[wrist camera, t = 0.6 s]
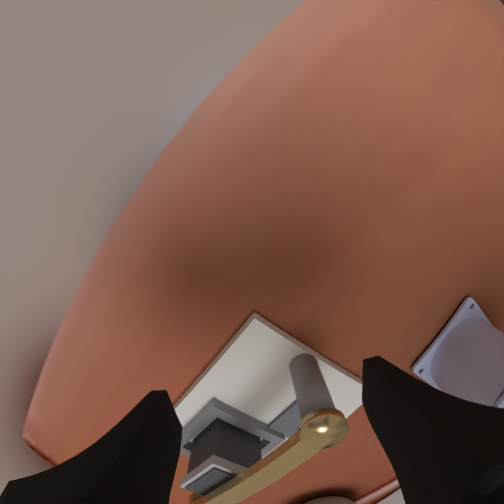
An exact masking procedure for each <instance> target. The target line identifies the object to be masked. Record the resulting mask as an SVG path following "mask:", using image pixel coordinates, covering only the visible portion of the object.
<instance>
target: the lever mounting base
mask: <svg viewBox="0 0 504 504" xmlns="http://www.w3.org/2000/svg"><path fill="white" fill-rule="evenodd" d="M296 399H297V404H298V408H299V412H300V417H301V419H302V418H303V417H304V416H306V415H307V414H309V413H310V412H312V411H315V410H318V409H322V408H335V409H338V410H340V411H341V412H342V413H343V414H344V416H345V419H346V418H347V417H348V416H349V415H351V414H352V413H353V412H354V411H355V410H356V409H357V408H358V407H359V406H360V405H362V404H363V403H362V380H361V379H360V378H358V377H356V376H355V375H353V374H351V373H350V372H348V371H346V370H345V369H343V368H341V367H340V366H338V365H336V364H335V363H333V362H332V361H330V360H328V359H327V358H325V357H323V356H322V355H320V354H319V353H317V352H315V351H314V350H312V349H311V348H309V347H307V346H306V345H304V344H303V343H301V342H300V341H298V340H296V339H295V338H293V337H292V336H290V335H289V334H287V333H286V332H284V331H282V330H281V329H279V328H278V327H276V326H275V325H273V324H272V323H270V322H269V321H267V320H266V319H264V318H263V317H261V316H260V315H258V314H257V313H255V312H254V313H253V314H252V315H251V316H250V317H249V319H248V320H247V321H246V322H245V323H244V325H243V326H242V327H241V328H240V329H239V331H238V332H237V333H236V334H235V335H234V336H233V338H232V339H231V340H230V341H229V342H228V344H227V345H226V346H225V347H224V348H223V349H222V351H221V352H220V353H219V354H218V355H217V356H216V358H215V359H214V360H213V361H212V362H211V363H210V365H209V366H208V367H207V368H206V369H205V370H204V371H203V373H202V374H201V375H200V376H199V377H198V378H197V379H196V381H195V382H194V383H193V384H192V385H191V386H190V387H189V388H188V390H187V391H186V392H185V393H184V394H183V395H182V396H181V397H180V399H179V400H178V401H177V402H176V403H175V404H174V405H173V407H174V409H175V412H176V414H177V416H178V418H179V421H180V423H181V425H182V427H183V428H182V441H181V450H180V452H181V453H183V454H185V455H187V456H189V457H190V454H191V448H192V443H193V439H194V438H195V437H196V436H197V435H198V434H199V433H200V432H201V431H203V430H204V429H205V428H206V427H207V426H208V425H209V424H210V423H211V422H212V421H213V420H215V419H216V418H217V417H218V418H220V419H222V420H224V421H226V422H228V423H230V424H232V425H234V426H236V427H238V428H241V429H243V430H245V431H247V432H249V433H252V434H254V435H256V436H259V437H260V441H261V456H262V458H263V457H265V456H266V455H268V454H269V453H270V452H272V451H273V450H274V449H276V448H277V447H278V446H280V445H281V444H282V443H283V442H285V441H286V440H287V439H288V438H287V437H285V435H284V434H282V433H279V432H277V431H275V430H272V429H270V428H268V424H269V423H270V422H271V421H272V420H274V419H275V418H276V417H277V416H278V415H279V414H280V413H282V412H283V411H284V410H285V409H286V408H287V407H288V406H289V405H290V404H291V403H293V402H294V401H295V400H296Z"/></svg>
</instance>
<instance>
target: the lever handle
mask: <svg viewBox="0 0 504 504" xmlns="http://www.w3.org/2000/svg"><path fill="white" fill-rule="evenodd" d="M348 430H349V427H348V424H347V421H346V419H345V416H344V414H343V413H342V412H341V411H340V410H338V409H335V408H322V409H318V410H315V411H312V412H310V413H309V414H307V415H306V416H304V417H303V418H302V419H301V421H300V422H299V424H298V431H297V432H296V433H295V434H294V435H292V436H291V437H290V438H288V439H287V440H286V441H285V442H283V443H282V444H281V445H280V446H278V447H277V448H276V449H274V450H273V451H272V452H270V453H269V454H268V455H266V456H265V457H263V458H262V459H261V460H259V461H258V462H256V463H255V464H254V465H252V466H251V467H249V468H248V469H246V470H245V471H243V472H242V473H240V474H239V475H237V476H236V477H234V478H233V479H231V480H230V481H228V482H226V483H225V484H223V485H222V486H220V487H218V488H217V489H215V490H213V491H212V492H210V493H208V494H207V495H205V496H201V495H198V494H196V493H193V494H191V495H190V498H189V504H237V503H238V502H240V501H242V500H244V499H246V498H248V497H249V496H251V495H253V494H255V493H256V492H258V491H260V490H262V489H263V488H265V487H267V486H268V485H270V484H272V483H273V482H275V481H276V480H278V479H280V478H281V477H283V476H284V475H286V474H287V473H289V472H290V471H292V470H293V469H295V468H296V467H298V466H299V465H300V464H302V463H303V462H305V461H306V460H308V459H309V458H310V457H312V456H313V455H314V454H316V453H317V452H318V451H320V450H321V449H325V448H329V447H332V446H334V445H336V444H337V443H339V442H340V441H342V440H343V439H344V438H345V437H346V435H347V433H348Z"/></svg>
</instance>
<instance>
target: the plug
mask: <svg viewBox="0 0 504 504" xmlns="http://www.w3.org/2000/svg"><path fill="white" fill-rule="evenodd" d="M261 459H262V456H261V441H260V437H259V436H256V435H254V434H252V433H249V432H247V431H245V430H243V429H241V428H238V427H236V426H234V425H232V424H230V423H228V422H226V421H224V420H222V419H220V418H218V417H217V418H216V419H215V420H213V421H212V422H211V423H210V424H209V425H208V426H207V427H206V428H205V429H204V430H203V431H201V432H200V433H199V434H198V435H197V436H196V437H195V438H194V439H193V443H192V448H191V454H190V460H189V466H188V472H187V475H185V476H184V477H182V478H181V481H180V487H182V488H185V489H187V490H189V491H192V492H195V493H197V494H200V495H203V496H205V495H207V494H208V493H210V492H212V491H213V490H215V489H217V488H218V487H220V486H222V485H223V484H225V483H226V482H228V481H230V480H231V479H233V478H234V477H236V476H237V475H239V474H240V473H242V472H243V471H245V470H246V469H248V468H249V467H251V466H252V465H254V464H255V463H256V462H258V461H259V460H261Z"/></svg>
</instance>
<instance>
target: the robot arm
mask: <svg viewBox="0 0 504 504" xmlns="http://www.w3.org/2000/svg"><path fill="white" fill-rule="evenodd" d="M471 304H472V305H471ZM470 306H471V307H470ZM420 369H421V370H420ZM419 370H420V371H419ZM412 371H413V373H414V374H416V375H417V376H419V377H420V378H421V379H423V380H424V381H426V382H427V383H429V384H430V385H431V386H430V385H428V384H426V383H424V382H422V381H420V380H418V379H416V378H415V377H413V376H411V375H409V374H408V373H406V372H404V371H403V370H401V369H399V368H398V367H396V366H395V365H393V364H391V363H390V362H388V361H387V360H385V359H383V358H382V357H380V356H375V357H371V358H368V359H364V360H363V379H362V403H363V405H364V408H365V411H366V414H367V417H368V419H369V422H370V424H371V426H372V428H373V430H374V432H375V433H376V435H377V437H378V439H379V441H380V443H381V445H382V447H383V449H384V451H385V452H386V454H387V456H388V458H389V460H390V462H391V464H392V466H393V469H394V471H395V473H396V476H397V479H398V482H399V485H400V488H401V490H402V494H403V497H404V500H405V503H406V504H504V333H502V332H501V331H499V330H498V329H497V328H495V327H494V326H492V324H491V323H490V321H489V320H488V318H487V317H486V316H485V314H484V313H483V311H482V310H481V309H480V307H479V306H478V305H477V303H476V302H475V301H474V299H473V298H471V297H467V298H466V299H465V300H464V302H463V303H462V305H461V306H460V307H459V309H458V310H457V312H456V313H455V314H454V316H453V317H452V318H451V320H450V321H449V322H448V324H447V325H446V326H445V328H444V329H443V330H442V331H441V333H440V334H439V335H438V337H437V338H436V339H435V340H434V341H433V343H432V344H431V345H430V346H429V348H428V349H427V350H426V351H425V352H424V353H423V355H422V356H421V357H420V358H419V359H418V360H417V361H416V363H415V364H414V365H413V366H412ZM432 386H433V387H432ZM182 428H183V427H182V425H181V423H180V421H179V418H178V416H177V414H176V412H175V409H174V407H173V405H172V403H171V400H170V398H169V395H168V393H167V391H166V390H158V391H151V392H150V393H148V394H147V395H146V396H145V397H144V398H143V399H142V400H141V401H140V402H139V403H138V404H137V405H136V406H135V407H134V408H133V409H132V410H131V411H130V412H129V413H128V414H127V415H126V416H125V417H124V418H123V419H122V420H121V421H120V422H119V423H118V424H117V425H115V426H114V427H113V428H112V429H111V430H110V431H109V432H107V433H106V434H105V435H104V436H103V437H102V438H100V439H99V440H98V441H97V442H95V443H94V444H93V445H91V446H90V447H88V448H87V449H85V450H84V451H82V452H81V453H79V454H78V455H76V456H74V457H72V458H71V459H69V460H67V461H65V462H63V463H61V464H60V465H57V466H55V467H53V468H51V469H49V470H46V471H43V472H41V473H38V474H35V475H32V476H28V477H25V478H21V479H17V480H13V481H9V482H8V484H7V485H6V487H5V489H4V490H3V492H2V494H1V496H0V504H168V503H169V497H170V492H171V488H172V484H173V480H174V475H175V471H176V467H177V463H178V459H179V454H180V450H181V441H182Z"/></svg>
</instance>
